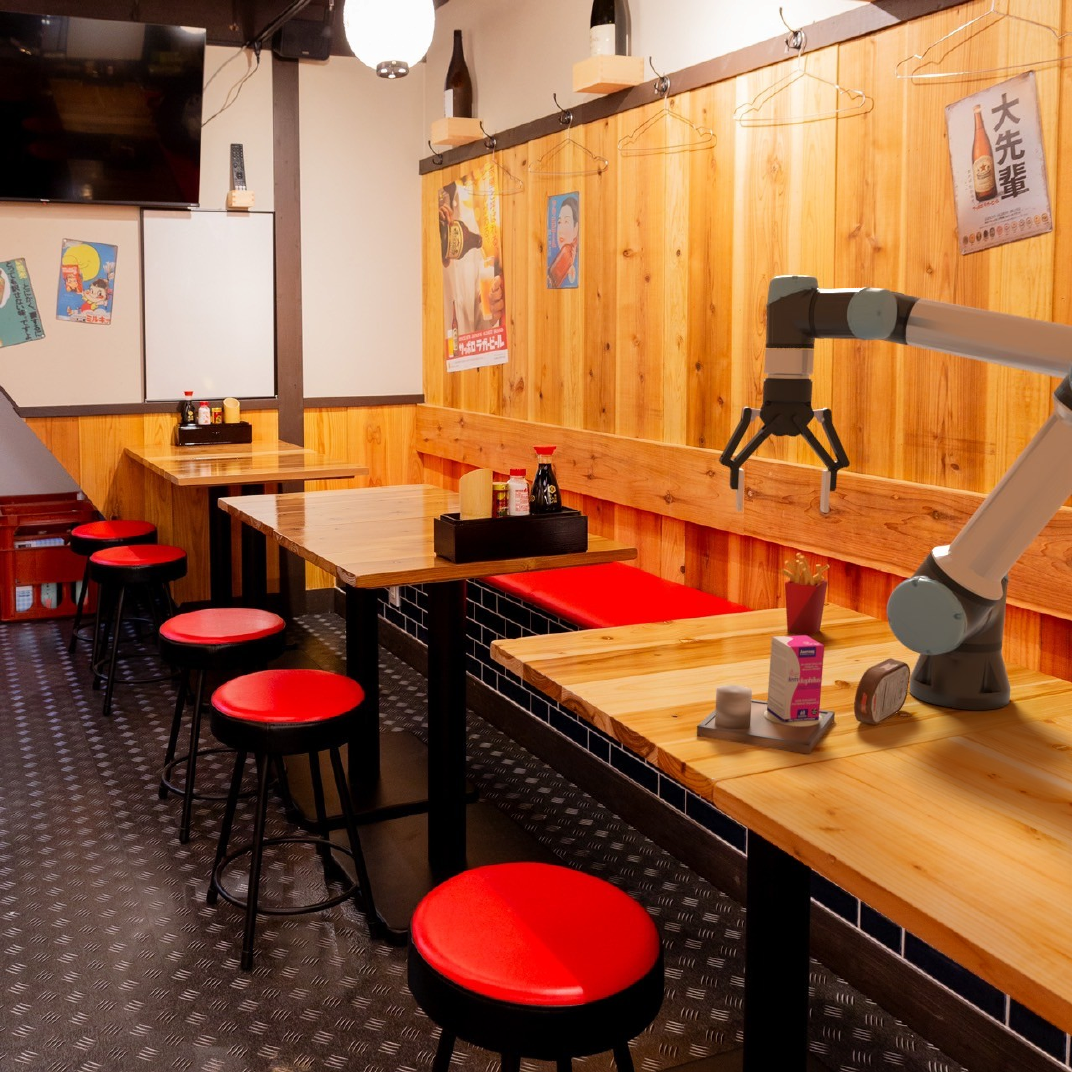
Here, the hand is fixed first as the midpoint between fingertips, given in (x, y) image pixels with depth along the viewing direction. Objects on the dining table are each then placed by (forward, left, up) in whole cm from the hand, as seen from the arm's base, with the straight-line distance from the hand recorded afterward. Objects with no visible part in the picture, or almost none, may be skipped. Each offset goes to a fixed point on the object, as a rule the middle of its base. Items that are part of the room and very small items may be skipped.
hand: (781, 511), depth 186 cm
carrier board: (-5, +22, -29) cm, 37 cm away
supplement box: (-8, +19, -28) cm, 34 cm away
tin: (-19, +9, -29) cm, 36 cm away
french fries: (+5, -37, -29) cm, 47 cm away
